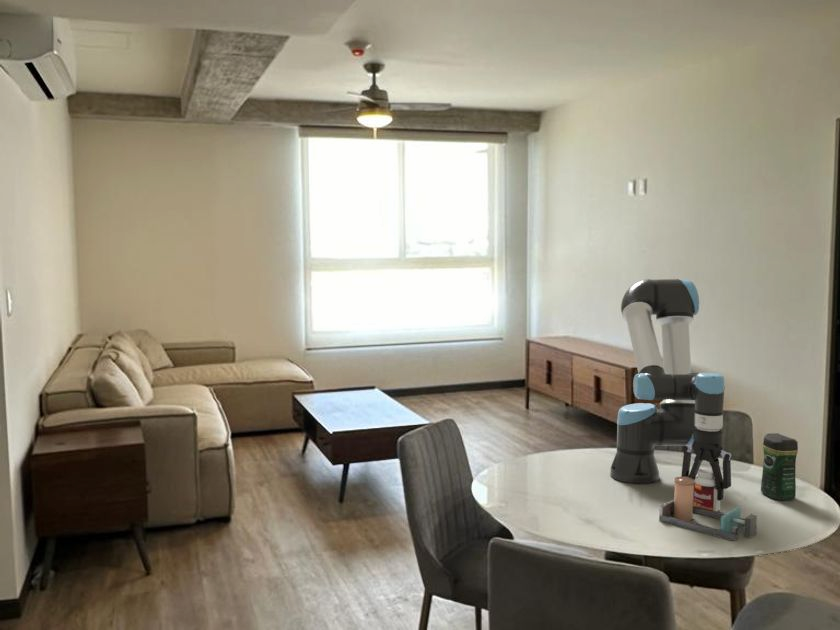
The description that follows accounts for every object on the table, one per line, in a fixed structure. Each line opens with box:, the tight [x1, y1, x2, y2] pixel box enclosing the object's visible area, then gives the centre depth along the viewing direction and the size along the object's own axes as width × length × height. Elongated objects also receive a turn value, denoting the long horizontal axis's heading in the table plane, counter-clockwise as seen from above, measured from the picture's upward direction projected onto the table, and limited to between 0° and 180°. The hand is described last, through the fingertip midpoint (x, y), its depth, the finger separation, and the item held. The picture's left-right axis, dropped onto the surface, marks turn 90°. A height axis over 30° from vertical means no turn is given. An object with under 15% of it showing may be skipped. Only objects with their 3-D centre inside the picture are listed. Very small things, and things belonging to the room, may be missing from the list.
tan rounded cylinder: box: [673, 476, 695, 522], centre depth 214 cm, size 5×5×11 cm
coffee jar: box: [760, 432, 799, 501], centre depth 232 cm, size 10×8×19 cm
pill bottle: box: [693, 468, 717, 510], centre depth 221 cm, size 6×6×11 cm
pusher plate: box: [719, 506, 758, 539], centre depth 203 cm, size 6×11×5 cm, turn 136°
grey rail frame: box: [658, 498, 746, 542], centre depth 210 cm, size 20×14×4 cm, turn 46°
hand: (704, 507), depth 221 cm, fingers closed on pill bottle, 6 cm apart
